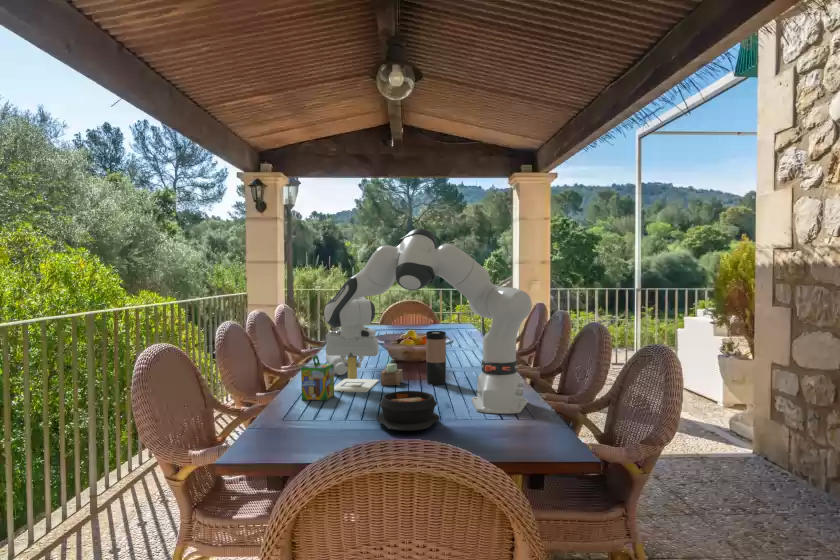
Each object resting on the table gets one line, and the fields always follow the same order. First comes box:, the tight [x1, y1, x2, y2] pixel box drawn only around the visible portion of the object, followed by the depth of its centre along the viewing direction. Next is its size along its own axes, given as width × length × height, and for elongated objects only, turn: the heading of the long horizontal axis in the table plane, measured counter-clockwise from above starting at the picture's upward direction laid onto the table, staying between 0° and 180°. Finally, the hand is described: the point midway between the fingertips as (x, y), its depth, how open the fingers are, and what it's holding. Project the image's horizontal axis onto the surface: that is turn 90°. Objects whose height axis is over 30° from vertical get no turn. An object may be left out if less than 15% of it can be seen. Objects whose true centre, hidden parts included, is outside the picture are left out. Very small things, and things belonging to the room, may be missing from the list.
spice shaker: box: [346, 353, 358, 379], centre depth 227 cm, size 4×4×10 cm
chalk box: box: [300, 354, 335, 402], centre depth 209 cm, size 9×9×15 cm
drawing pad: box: [334, 378, 380, 393], centre depth 228 cm, size 20×14×1 cm
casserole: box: [376, 390, 441, 432], centre depth 176 cm, size 25×19×8 cm
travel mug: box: [425, 330, 447, 386], centre depth 232 cm, size 8×8×20 cm
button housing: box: [380, 368, 403, 386], centre depth 232 cm, size 7×7×5 cm
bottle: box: [325, 353, 348, 376], centre depth 257 cm, size 9×9×30 cm
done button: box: [386, 363, 398, 372], centre depth 231 cm, size 4×4×6 cm
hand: (352, 367), depth 227 cm, fingers closed on spice shaker, 4 cm apart
